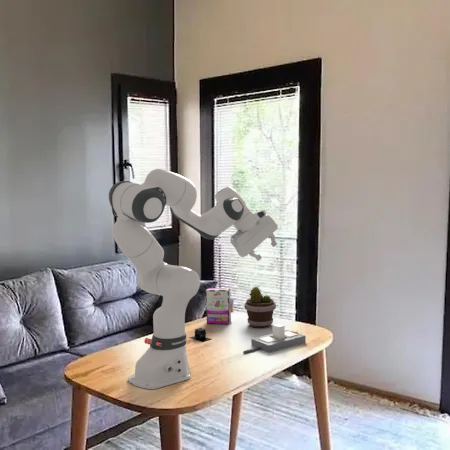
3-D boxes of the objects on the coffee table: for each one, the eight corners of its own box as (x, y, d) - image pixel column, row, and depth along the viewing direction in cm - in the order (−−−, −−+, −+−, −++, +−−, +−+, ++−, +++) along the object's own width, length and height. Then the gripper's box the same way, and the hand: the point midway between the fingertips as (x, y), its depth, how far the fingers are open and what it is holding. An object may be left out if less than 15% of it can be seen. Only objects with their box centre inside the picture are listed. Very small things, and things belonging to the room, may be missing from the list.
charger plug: (279, 346, 215) (279, 327, 214) (272, 343, 218) (272, 324, 217) (284, 344, 216) (284, 325, 216) (278, 342, 220) (277, 323, 219)
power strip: (252, 357, 202) (252, 348, 202) (234, 350, 211) (234, 341, 210) (305, 342, 219) (305, 333, 218) (287, 336, 227) (287, 328, 227)
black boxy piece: (216, 341, 225) (215, 330, 225) (203, 345, 220) (203, 334, 220) (197, 334, 234) (197, 324, 234) (184, 338, 229) (184, 328, 229)
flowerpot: (259, 319, 256) (258, 278, 254) (283, 325, 244) (282, 282, 242) (237, 325, 246) (237, 283, 244) (261, 332, 235) (261, 287, 233)
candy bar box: (231, 321, 252) (230, 288, 250) (229, 324, 247) (229, 290, 246) (208, 321, 254) (207, 287, 252) (206, 323, 249) (205, 289, 247)
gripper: (231, 236, 195) (254, 266, 196) (267, 207, 205) (288, 236, 206) (224, 240, 200) (246, 269, 201) (259, 212, 210) (279, 239, 211)
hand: (267, 252), depth 204 cm, fingers open, 8 cm apart
